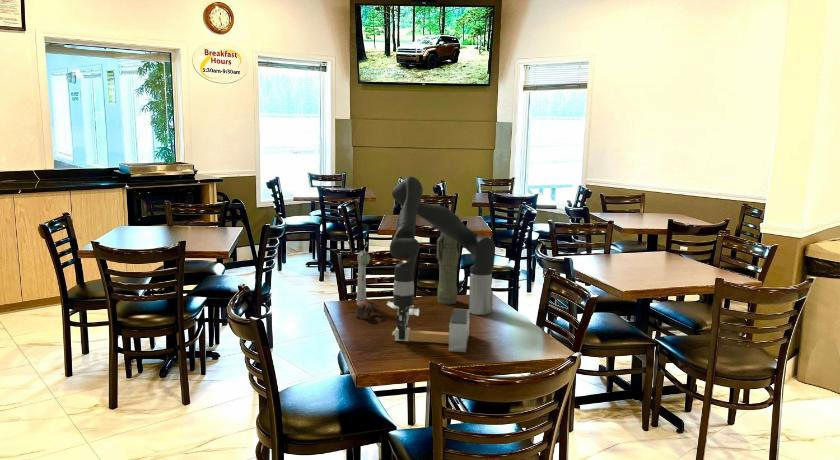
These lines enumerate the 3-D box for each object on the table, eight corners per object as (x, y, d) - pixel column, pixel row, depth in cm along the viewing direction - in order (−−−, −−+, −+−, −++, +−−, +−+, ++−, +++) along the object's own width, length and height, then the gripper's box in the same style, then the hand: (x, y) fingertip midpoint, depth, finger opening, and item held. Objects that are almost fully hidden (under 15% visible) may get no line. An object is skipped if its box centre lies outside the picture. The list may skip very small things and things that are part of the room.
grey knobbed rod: (365, 304, 281) (365, 248, 278) (370, 307, 275) (371, 251, 272) (354, 305, 279) (354, 249, 276) (359, 308, 273) (359, 252, 270)
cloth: (430, 317, 266) (430, 311, 265) (400, 319, 260) (400, 314, 260) (408, 302, 289) (408, 297, 289) (379, 304, 284) (380, 299, 284)
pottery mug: (353, 314, 265) (362, 296, 266) (373, 324, 266) (382, 306, 267) (354, 316, 253) (363, 297, 254) (375, 326, 254) (384, 307, 255)
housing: (468, 335, 239) (469, 301, 238) (465, 352, 220) (466, 316, 218) (453, 334, 240) (454, 300, 238) (448, 351, 221) (449, 315, 219)
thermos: (430, 302, 287) (432, 226, 282) (450, 298, 295) (452, 224, 290) (443, 306, 280) (445, 228, 276) (463, 302, 288) (465, 226, 283)
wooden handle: (455, 340, 232) (455, 330, 232) (454, 344, 228) (455, 333, 228) (393, 337, 235) (393, 326, 234) (391, 340, 231) (391, 329, 230)
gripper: (396, 287, 237) (395, 331, 240) (390, 296, 223) (389, 342, 226) (416, 288, 237) (415, 332, 239) (411, 297, 223) (410, 344, 225)
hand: (402, 337), depth 232 cm, fingers closed on wooden handle, 4 cm apart
